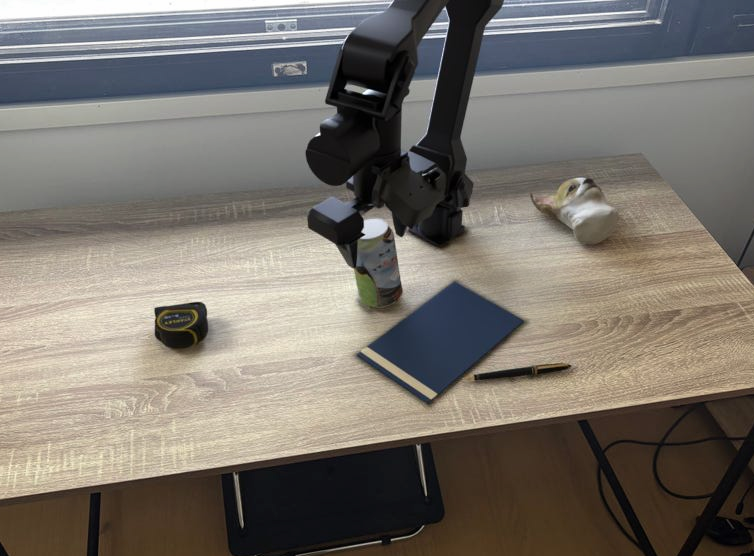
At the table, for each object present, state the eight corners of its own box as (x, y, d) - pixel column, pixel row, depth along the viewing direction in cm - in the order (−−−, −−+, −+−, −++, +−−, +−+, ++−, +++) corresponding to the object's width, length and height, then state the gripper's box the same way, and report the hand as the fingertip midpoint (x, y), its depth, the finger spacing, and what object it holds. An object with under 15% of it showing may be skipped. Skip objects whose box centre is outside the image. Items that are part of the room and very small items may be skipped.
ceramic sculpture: (581, 208, 101) (530, 160, 112) (570, 259, 107) (523, 210, 118) (647, 195, 104) (591, 150, 114) (633, 246, 110) (581, 198, 120)
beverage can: (398, 316, 99) (400, 245, 91) (345, 309, 100) (342, 238, 92) (405, 286, 104) (408, 216, 95) (355, 280, 105) (353, 210, 96)
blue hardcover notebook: (356, 356, 94) (356, 353, 94) (454, 283, 104) (454, 280, 104) (427, 404, 88) (428, 402, 88) (523, 322, 98) (524, 320, 98)
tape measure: (209, 316, 99) (204, 295, 97) (210, 351, 95) (206, 330, 92) (158, 322, 99) (152, 301, 96) (157, 358, 94) (150, 337, 91)
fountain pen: (461, 386, 90) (462, 377, 89) (459, 379, 91) (460, 370, 90) (572, 372, 92) (575, 364, 91) (569, 365, 92) (571, 357, 91)
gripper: (371, 204, 76) (372, 313, 88) (480, 138, 86) (468, 244, 97) (299, 165, 82) (308, 273, 93) (409, 107, 91) (405, 211, 102)
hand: (376, 250), depth 96 cm, fingers open, 9 cm apart
